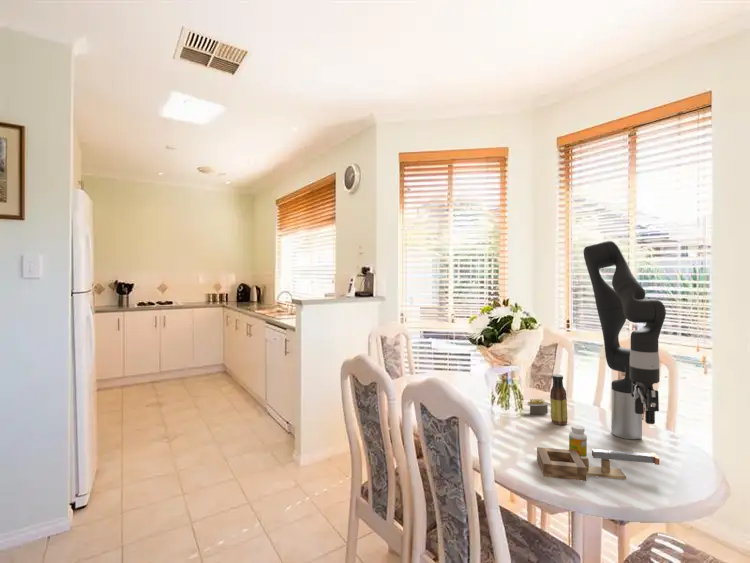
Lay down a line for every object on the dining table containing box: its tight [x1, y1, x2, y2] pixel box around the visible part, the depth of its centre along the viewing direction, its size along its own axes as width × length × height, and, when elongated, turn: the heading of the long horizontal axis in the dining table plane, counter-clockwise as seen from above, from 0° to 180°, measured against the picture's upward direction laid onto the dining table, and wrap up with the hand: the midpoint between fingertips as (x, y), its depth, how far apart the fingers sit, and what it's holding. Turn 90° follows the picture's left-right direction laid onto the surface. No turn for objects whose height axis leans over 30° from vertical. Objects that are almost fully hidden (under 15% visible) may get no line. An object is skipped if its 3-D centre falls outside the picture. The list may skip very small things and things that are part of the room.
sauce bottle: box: [549, 373, 568, 426], centre depth 165 cm, size 7×6×20 cm
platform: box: [527, 398, 551, 415], centre depth 177 cm, size 12×18×7 cm, turn 93°
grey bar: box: [591, 448, 660, 466], centre depth 122 cm, size 18×4×2 cm, turn 77°
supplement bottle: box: [568, 424, 588, 457], centre depth 136 cm, size 5×5×10 cm
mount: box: [580, 456, 627, 480], centre depth 124 cm, size 12×5×4 cm, turn 77°
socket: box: [536, 446, 587, 482], centre depth 127 cm, size 12×12×4 cm
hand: (644, 418), depth 121 cm, fingers open, 8 cm apart
